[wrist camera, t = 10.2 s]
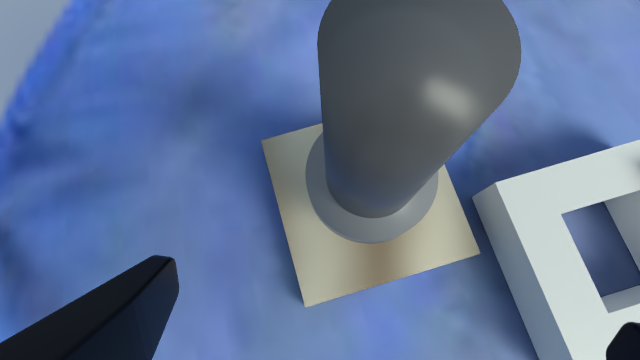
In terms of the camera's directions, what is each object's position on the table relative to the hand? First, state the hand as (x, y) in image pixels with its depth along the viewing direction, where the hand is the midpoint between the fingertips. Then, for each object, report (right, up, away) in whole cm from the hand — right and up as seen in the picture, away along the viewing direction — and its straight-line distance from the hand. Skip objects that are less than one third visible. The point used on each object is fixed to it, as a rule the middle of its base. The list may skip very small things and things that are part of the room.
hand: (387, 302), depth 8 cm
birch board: (+1, +1, +13) cm, 13 cm away
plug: (+1, +1, +12) cm, 12 cm away
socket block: (+12, -1, +12) cm, 17 cm away
